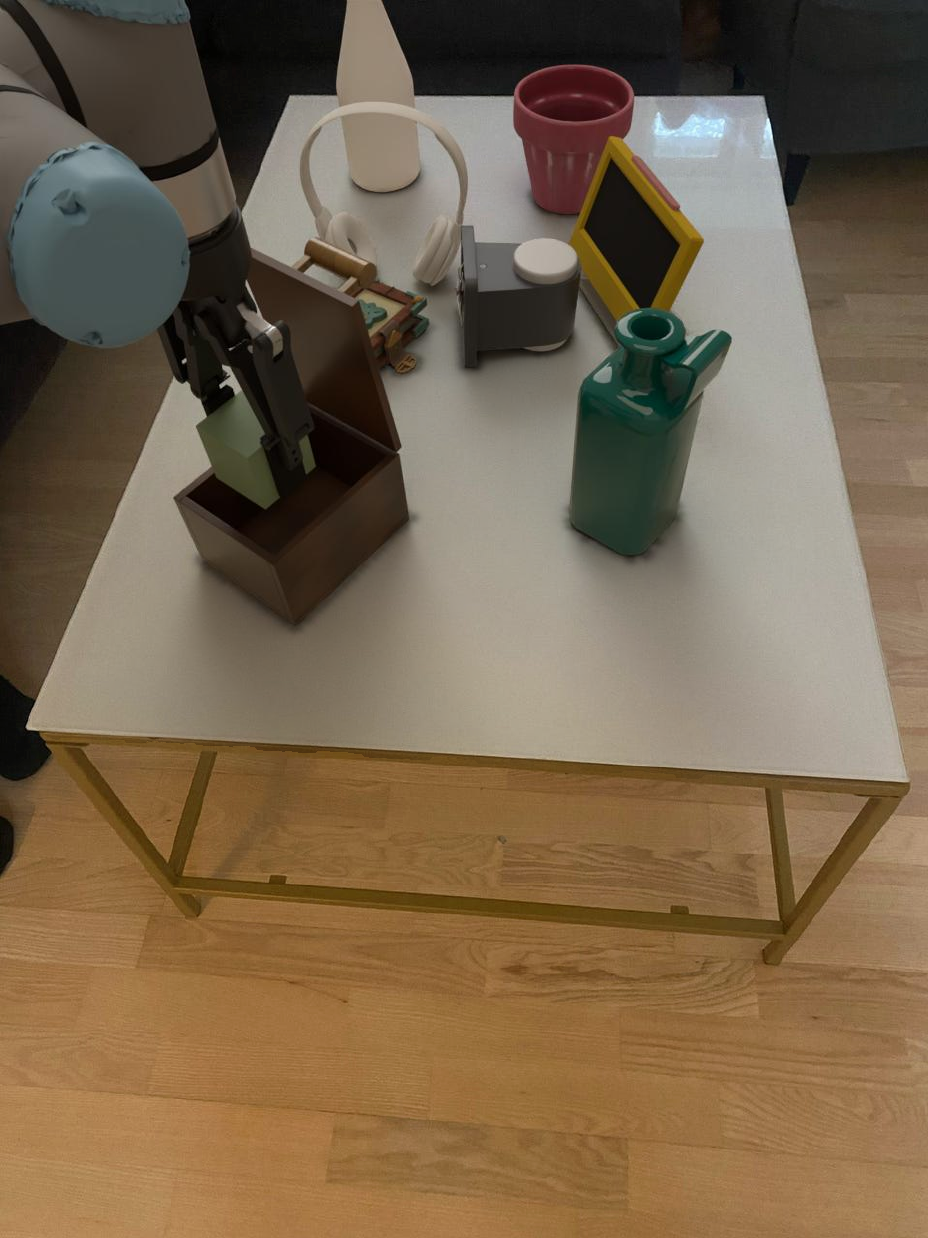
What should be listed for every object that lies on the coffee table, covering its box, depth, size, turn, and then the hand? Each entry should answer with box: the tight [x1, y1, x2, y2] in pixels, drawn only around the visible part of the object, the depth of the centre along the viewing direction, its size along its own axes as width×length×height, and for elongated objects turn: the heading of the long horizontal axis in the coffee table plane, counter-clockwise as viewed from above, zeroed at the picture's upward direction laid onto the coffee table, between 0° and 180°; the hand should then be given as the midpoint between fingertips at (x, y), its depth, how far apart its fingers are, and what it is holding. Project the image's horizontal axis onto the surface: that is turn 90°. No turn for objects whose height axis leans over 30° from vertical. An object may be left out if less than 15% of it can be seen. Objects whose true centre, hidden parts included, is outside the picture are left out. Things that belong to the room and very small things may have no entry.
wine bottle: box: [335, 0, 421, 193], centre depth 109 cm, size 10×10×30 cm
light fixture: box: [454, 225, 582, 367], centre depth 97 cm, size 11×13×11 cm
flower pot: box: [512, 64, 635, 215], centre depth 111 cm, size 14×14×13 cm
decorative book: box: [350, 277, 430, 374], centre depth 98 cm, size 13×18×5 cm
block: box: [195, 389, 316, 509], centre depth 74 cm, size 6×6×6 cm
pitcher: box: [568, 307, 733, 556], centre depth 76 cm, size 10×8×22 cm
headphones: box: [299, 102, 469, 287], centre depth 100 cm, size 7×18×20 cm, turn 82°
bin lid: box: [246, 236, 403, 453], centre depth 75 cm, size 16×13×6 cm
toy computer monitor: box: [567, 136, 705, 348], centre depth 96 cm, size 20×8×16 cm, turn 18°
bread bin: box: [172, 402, 410, 626], centre depth 82 cm, size 16×13×9 cm
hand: (265, 469), depth 76 cm, fingers closed on block, 6 cm apart
